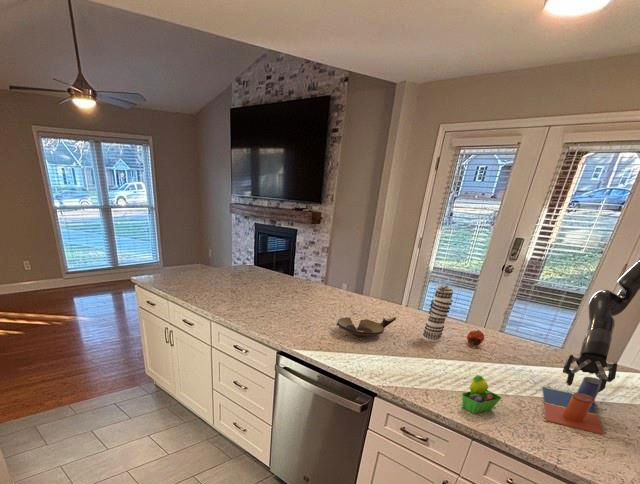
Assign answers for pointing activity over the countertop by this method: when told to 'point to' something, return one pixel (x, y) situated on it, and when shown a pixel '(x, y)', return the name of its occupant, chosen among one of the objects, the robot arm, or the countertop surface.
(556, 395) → the blue mat
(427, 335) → the striped cylindrical tower
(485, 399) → the fruit basket
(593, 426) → the terracotta mat
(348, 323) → the oil lamp
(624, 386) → the countertop surface
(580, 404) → the terracotta canister
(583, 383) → the blue canister
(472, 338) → the pomegranate
